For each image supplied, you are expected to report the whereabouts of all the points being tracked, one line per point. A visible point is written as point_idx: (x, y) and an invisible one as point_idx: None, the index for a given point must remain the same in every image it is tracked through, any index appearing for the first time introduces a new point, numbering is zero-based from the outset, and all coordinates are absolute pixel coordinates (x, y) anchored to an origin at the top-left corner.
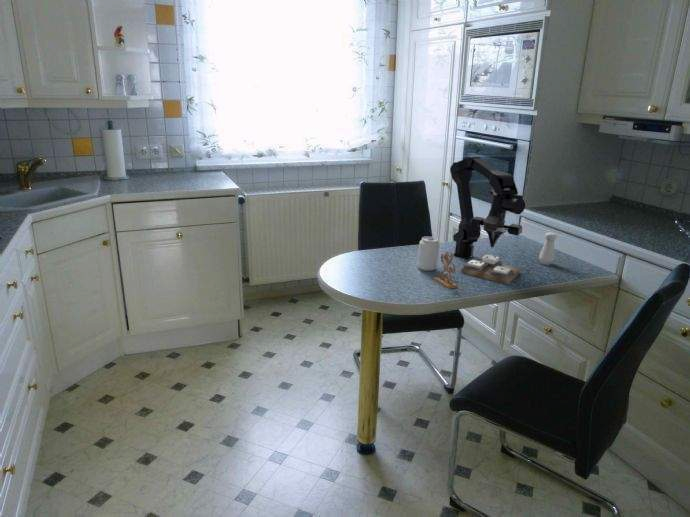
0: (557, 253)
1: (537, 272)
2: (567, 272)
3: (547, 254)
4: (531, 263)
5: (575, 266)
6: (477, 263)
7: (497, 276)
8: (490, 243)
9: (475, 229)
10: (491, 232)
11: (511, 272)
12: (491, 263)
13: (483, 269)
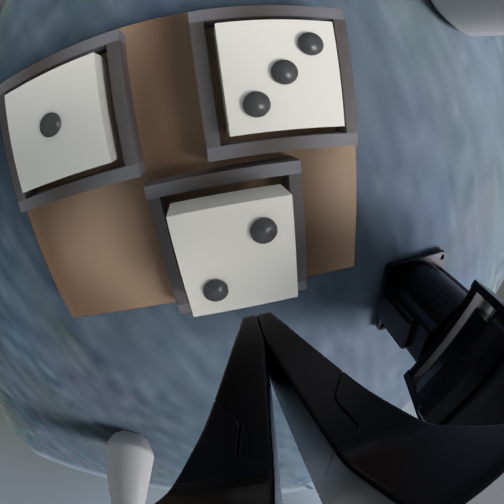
0: (174, 481)
1: (66, 363)
2: (45, 413)
3: (113, 463)
4: (151, 419)
5: (81, 451)
6: (266, 61)
7: (63, 49)
8: (290, 335)
9: (474, 408)
10: (372, 497)
11: (8, 158)
12: (195, 199)
13: (193, 61)
